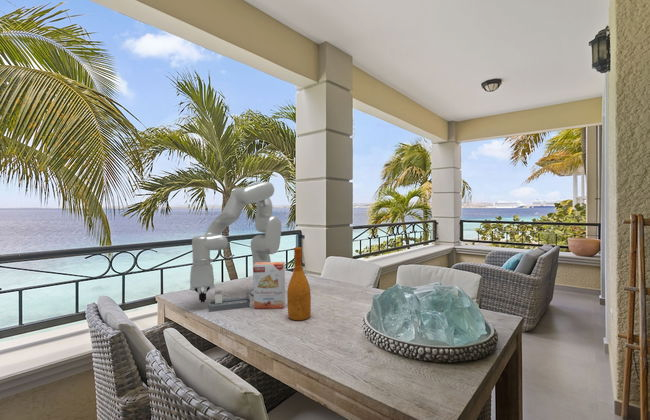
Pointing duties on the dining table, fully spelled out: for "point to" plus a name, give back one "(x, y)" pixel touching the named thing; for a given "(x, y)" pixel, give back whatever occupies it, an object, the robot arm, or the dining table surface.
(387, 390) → the dining table surface
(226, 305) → the board
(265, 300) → the cracker box
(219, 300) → the block
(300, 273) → the wine bottle
